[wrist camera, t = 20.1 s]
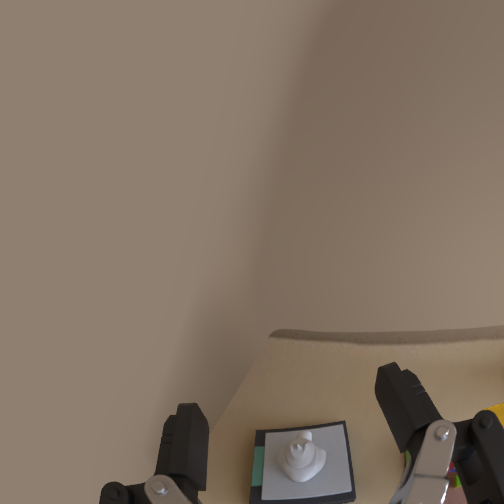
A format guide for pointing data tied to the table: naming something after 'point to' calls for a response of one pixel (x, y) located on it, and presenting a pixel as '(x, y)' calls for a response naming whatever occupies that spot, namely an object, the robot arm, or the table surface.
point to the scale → (315, 489)
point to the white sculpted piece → (301, 458)
